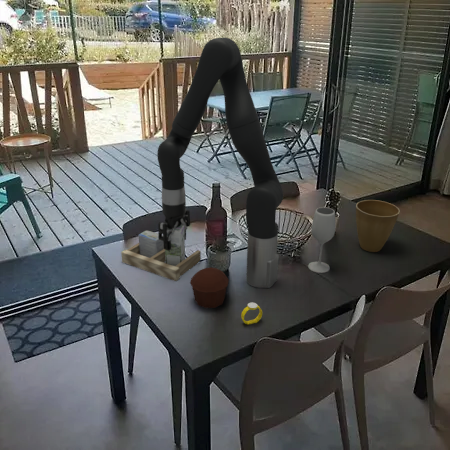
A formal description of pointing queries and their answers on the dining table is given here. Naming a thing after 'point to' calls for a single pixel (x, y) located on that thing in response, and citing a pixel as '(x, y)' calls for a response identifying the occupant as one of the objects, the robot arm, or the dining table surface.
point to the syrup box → (176, 247)
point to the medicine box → (150, 244)
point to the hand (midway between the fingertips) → (175, 244)
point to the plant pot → (375, 223)
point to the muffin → (209, 287)
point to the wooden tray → (159, 263)
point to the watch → (251, 307)
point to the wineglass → (322, 234)
